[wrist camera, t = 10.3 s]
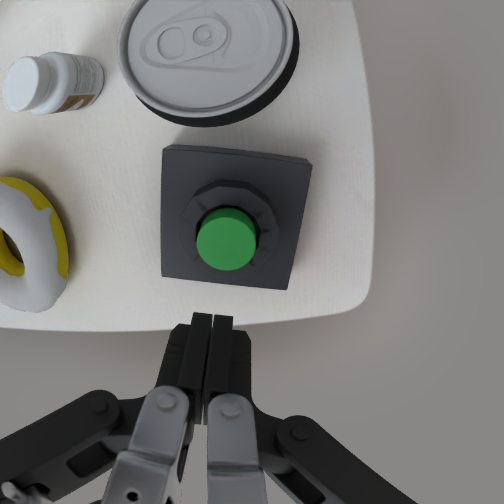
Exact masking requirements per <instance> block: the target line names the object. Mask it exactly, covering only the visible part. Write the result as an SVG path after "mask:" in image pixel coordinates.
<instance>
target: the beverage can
mask: <svg viewBox="0 0 504 504" xmlns="http://www.w3.org/2000/svg"><path fill="white" fill-rule="evenodd" d="M299 44H300V42H299V33H298V28H297V25H296V22H295V19H294V17H293V15H292V13H291V12H290V10H289V8H288V7H287V5H286V4H285V2H284V1H283V0H136V1H135V2H134V3H133V5H132V6H131V7H130V9H129V11H128V12H127V14H126V16H125V18H124V20H123V22H122V25H121V28H120V31H119V36H118V42H117V56H118V63H119V66H120V70H121V72H122V75H123V77H124V79H125V81H126V82H127V84H128V86H129V87H130V88H131V89H132V91H133V92H134V93H135V95H136V96H137V98H138V99H139V100H140V101H141V102H142V103H143V104H144V105H145V106H146V107H147V108H148V109H149V110H151V111H152V112H154V113H155V114H157V115H158V116H160V117H162V118H164V119H166V120H168V121H171V122H173V123H176V124H180V125H185V126H191V127H217V126H224V125H228V124H232V123H235V122H238V121H241V120H243V119H246V118H248V117H250V116H252V115H254V114H256V113H257V112H259V111H261V110H262V109H263V108H265V107H266V106H267V105H269V104H270V103H271V102H272V101H273V100H274V99H275V98H276V97H277V96H278V95H279V94H280V93H281V92H282V91H283V89H284V88H285V87H286V85H287V84H288V82H289V80H290V79H291V77H292V75H293V72H294V70H295V67H296V64H297V60H298V55H299Z"/></svg>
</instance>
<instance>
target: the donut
mask: <svg viewBox="0 0 504 504" xmlns="http://www.w3.org/2000/svg"><path fill="white" fill-rule="evenodd" d="M3 230H4V231H5V232H6V233H7V234H8V235H9V236H10V237H11V238H12V239H13V241H14V242H15V243H16V245H17V247H18V249H19V251H20V253H21V256H22V259H23V262H24V264H23V263H21V262H20V261H18V260H17V259H16V258H15V257H14V256H13V255H12V253H11V252H10V250H9V248H8V247H7V244H6V242H5V239H4V235H3ZM68 264H69V258H68V248H67V242H66V237H65V233H64V230H63V227H62V224H61V221H60V219H59V217H58V215H57V213H56V211H55V209H54V208H53V206H52V205H51V203H50V202H49V201H48V200H47V198H46V197H45V196H44V195H43V194H42V193H41V192H40V191H39V190H38V189H36V188H35V187H34V186H32V185H31V184H29V183H28V182H26V181H24V180H21V179H18V178H15V177H7V176H3V177H0V302H2V303H3V304H5V305H6V306H8V307H10V308H13V309H16V310H19V311H24V312H33V313H39V312H42V311H45V310H47V309H49V308H50V307H52V306H53V305H54V303H55V302H56V300H57V299H58V298H59V297H60V295H61V294H62V292H63V291H64V289H65V287H66V284H67V277H68Z"/></svg>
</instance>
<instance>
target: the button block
mask: <svg viewBox="0 0 504 504" xmlns="http://www.w3.org/2000/svg"><path fill="white" fill-rule="evenodd" d="M311 171H312V164H311V163H310V162H309V161H308V160H306V159H302V158H295V157H289V156H282V155H275V154H268V153H260V152H252V151H244V150H235V149H225V148H214V147H202V146H188V145H169V146H167V147H165V148H164V149H163V152H162V173H161V273H162V277H170V278H177V279H186V280H194V281H202V282H211V283H220V284H229V285H238V286H248V287H258V288H268V289H278V290H287V287H288V283H289V279H290V274H291V270H292V265H293V261H294V256H295V251H296V247H297V242H298V237H299V233H300V228H301V223H302V218H303V213H304V208H305V203H306V198H307V193H308V187H309V182H310V177H311ZM221 208H234V209H238V210H240V211H242V212H244V213H245V214H246V215H247V216H248V217H249V218H250V219H251V220H252V222H253V224H254V227H255V233H256V249H255V252H254V255H253V257H252V258H251V260H250V261H249V262H248V263H247V264H245V265H244V266H242V267H240V268H238V269H235V270H220V269H216V268H214V267H212V266H210V265H209V264H207V263H206V262H205V261H204V260H203V259H202V257H201V256H200V254H199V252H198V249H197V237H198V233H199V231H200V228H201V226H202V223H203V221H204V220H205V218H206V217H207V216H208V215H209V214H210V213H211V212H213V211H215V210H217V209H221Z"/></svg>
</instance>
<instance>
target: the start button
mask: <svg viewBox="0 0 504 504" xmlns="http://www.w3.org/2000/svg"><path fill="white" fill-rule="evenodd" d="M197 249H198V252H199V254H200V256H201V257H202V259H203V260H204V261H205V262H206V263H207V264H209V265H210V266H212V267H214V268H216V269H220V270H235V269H238V268H240V267H242V266H244V265H245V264H247V263H248V262H249V261H250V260H251V258H252V257H253V255H254V252H255V249H256V233H255V227H254V224H253V222H252V220H251V219H250V218H249V217H248V216H247V215H246V214H245V213H244V212H242V211H240V210H238V209H234V208H221V209H217V210H215V211H213V212H211V213H210V214H209V215H208V216H207V217H206V218H205V220H204V221H203V223H202V226H201V228H200V231H199V233H198V237H197Z"/></svg>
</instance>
